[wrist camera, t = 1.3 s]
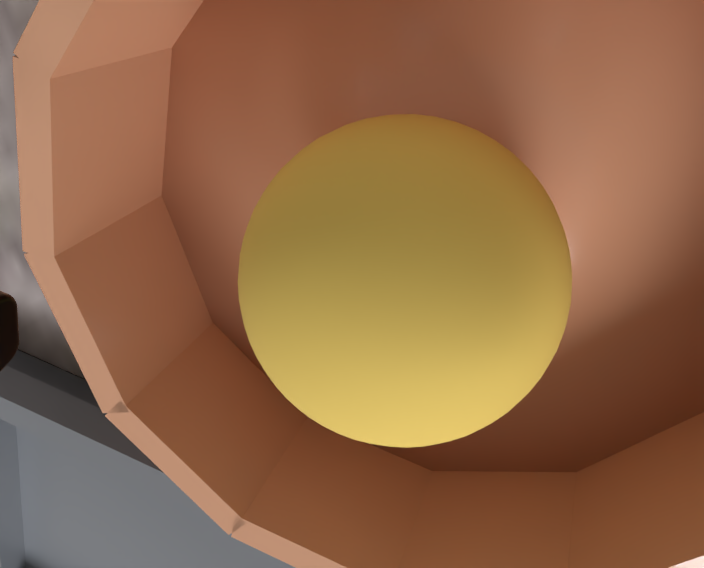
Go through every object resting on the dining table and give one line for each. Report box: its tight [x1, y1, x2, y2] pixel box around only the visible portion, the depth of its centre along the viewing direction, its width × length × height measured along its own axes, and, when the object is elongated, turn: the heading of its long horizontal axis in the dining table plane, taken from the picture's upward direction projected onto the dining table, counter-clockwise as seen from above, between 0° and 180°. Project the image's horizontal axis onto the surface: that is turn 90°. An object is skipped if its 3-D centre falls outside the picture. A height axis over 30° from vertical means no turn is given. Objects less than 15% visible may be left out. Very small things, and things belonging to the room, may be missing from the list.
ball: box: [238, 114, 572, 448], centre depth 12 cm, size 6×6×6 cm
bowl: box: [13, 0, 704, 568], centre depth 14 cm, size 16×16×4 cm
